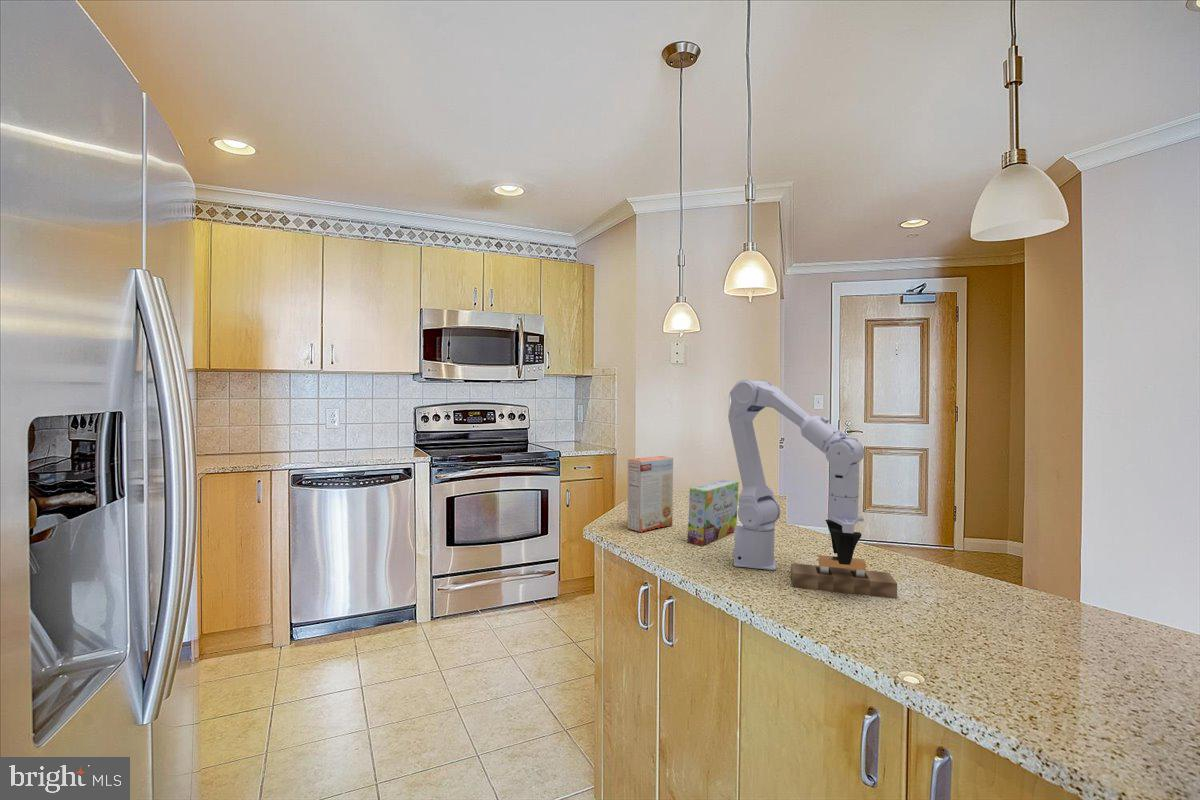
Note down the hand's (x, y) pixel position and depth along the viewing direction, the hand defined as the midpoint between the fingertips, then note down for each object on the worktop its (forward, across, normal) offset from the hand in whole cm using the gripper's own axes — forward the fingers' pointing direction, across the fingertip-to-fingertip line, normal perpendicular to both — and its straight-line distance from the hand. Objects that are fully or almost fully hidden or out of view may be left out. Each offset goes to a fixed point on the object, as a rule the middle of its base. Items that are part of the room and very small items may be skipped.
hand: (841, 558), depth 118 cm
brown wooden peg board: (+6, 0, 0) cm, 6 cm away
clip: (+6, 0, 0) cm, 6 cm away
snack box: (+6, +32, +29) cm, 44 cm away
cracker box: (+7, +36, +48) cm, 60 cm away
